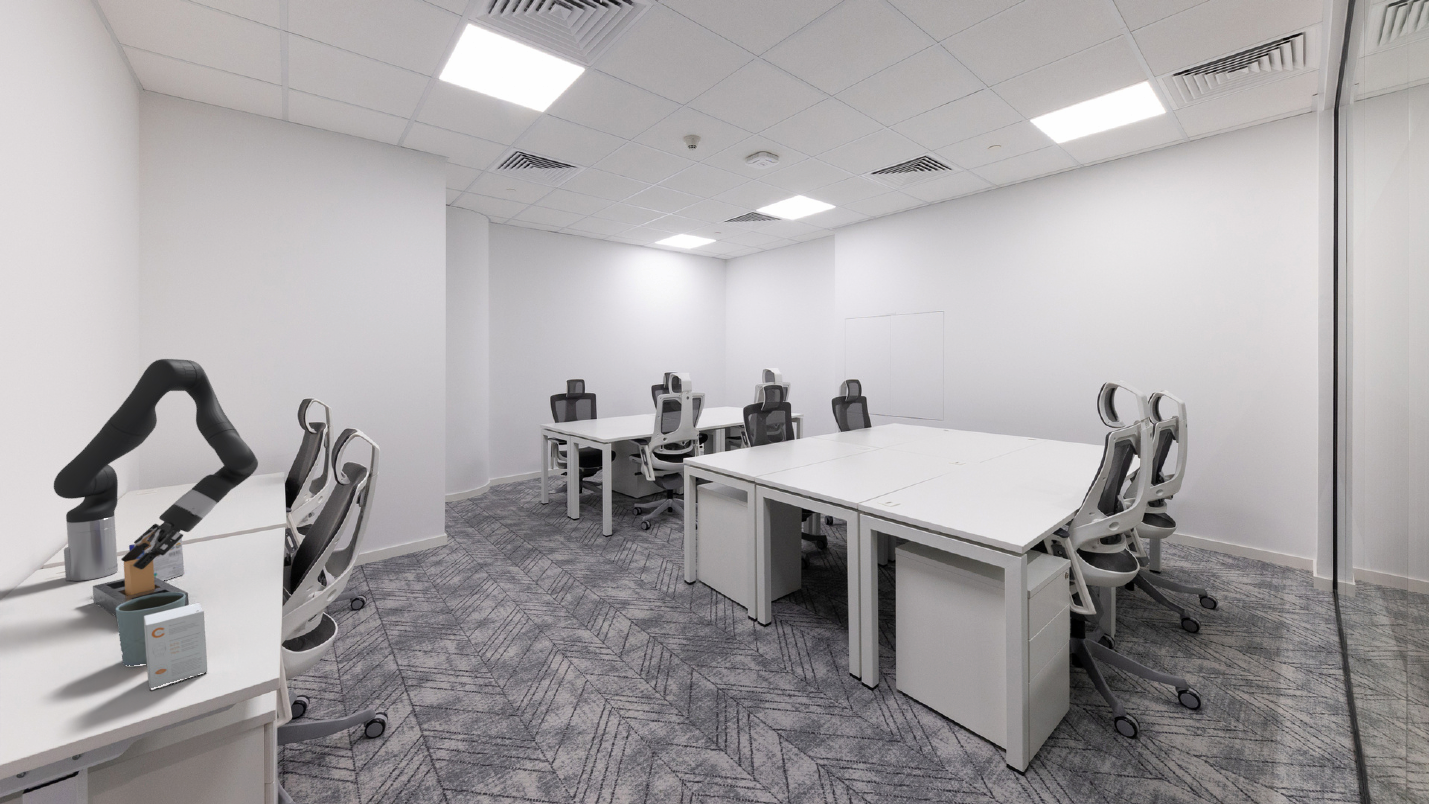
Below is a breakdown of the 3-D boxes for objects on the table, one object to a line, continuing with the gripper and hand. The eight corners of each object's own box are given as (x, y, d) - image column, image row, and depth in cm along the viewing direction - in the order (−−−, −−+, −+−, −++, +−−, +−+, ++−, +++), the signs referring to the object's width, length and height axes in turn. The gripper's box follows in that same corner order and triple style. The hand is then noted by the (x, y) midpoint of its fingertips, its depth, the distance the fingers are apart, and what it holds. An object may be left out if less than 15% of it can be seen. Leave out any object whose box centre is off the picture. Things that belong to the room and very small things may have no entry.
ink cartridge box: (169, 573, 159) (166, 526, 158) (185, 574, 158) (183, 526, 157) (130, 586, 149) (127, 536, 148) (147, 587, 148) (144, 537, 147)
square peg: (132, 607, 133) (129, 564, 133) (126, 604, 135) (123, 562, 135) (155, 601, 137) (153, 559, 136) (149, 597, 139) (146, 557, 138)
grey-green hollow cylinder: (111, 661, 110) (108, 605, 110) (177, 639, 119) (174, 587, 119) (129, 674, 106) (125, 615, 105) (196, 650, 115) (193, 596, 114)
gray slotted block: (93, 602, 138) (92, 585, 138) (147, 589, 147) (146, 573, 147) (132, 626, 125) (131, 608, 125) (189, 610, 134) (188, 592, 134)
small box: (203, 662, 110) (200, 601, 109) (208, 673, 106) (204, 610, 105) (146, 679, 104) (142, 615, 103) (148, 692, 100) (145, 625, 99)
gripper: (165, 500, 145) (105, 553, 135) (186, 506, 138) (125, 562, 129) (191, 514, 150) (136, 566, 140) (213, 521, 143) (156, 576, 134)
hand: (131, 564), depth 135 cm, fingers open, 8 cm apart
